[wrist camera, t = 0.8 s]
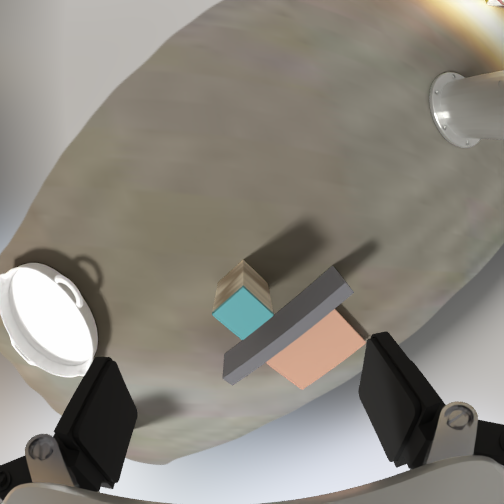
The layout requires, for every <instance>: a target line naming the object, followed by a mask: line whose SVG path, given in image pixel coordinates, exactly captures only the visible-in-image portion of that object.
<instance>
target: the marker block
mask: <svg viewBox="0 0 504 504" xmlns="http://www.w3.org/2000/svg"><path fill="white" fill-rule="evenodd" d="M212 315H213V316H214V317H215V318H216V319H217V320H219V321H220V322H221V323H222V324H223V325H225V326H226V327H227V328H228V329H229V330H231V331H232V332H233V333H234V334H235V335H237V336H238V337H239V338H240V339H241V340H244V339H245V338H246V337H248V336H249V335H250V334H251V333H253V332H254V331H255V330H256V329H258V328H259V327H260V326H261V325H263V324H264V323H265V322H266V321H268V320H269V319H270V318H271V317H273V316H274V314H273V308H272V303H271V297H270V292H269V287H268V283H267V282H266V281H265V280H264V279H263V278H262V277H261V276H260V275H259V274H258V273H257V272H256V271H255V270H254V269H253V268H251V267H250V266H249V265H248V264H247V263H246V262H245V261H244V260H242V261H241V262H240V263H239V264H238V265H237V266H236V267H234V268H233V269H232V270H231V271H230V272H229V273H228V274H227V275H226V276H225V277H224V278H222V279H221V280H220V281H219V282H218V285H217V290H216V295H215V301H214V306H213V312H212Z"/></svg>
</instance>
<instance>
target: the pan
mask: <svg viewBox="0 0 504 504" xmlns="http://www.w3.org/2000/svg"><path fill="white" fill-rule="evenodd" d="M0 313H1V317H2V320H3V323H4V325H5V327H6V329H7V331H8V334H9V335H10V338H11V343H12V346H13V347H14V348H15V349H16V351H17V352H18V353H19V354H20V355H21V356H22V357H23V358H24V359H25V360H26V361H27V362H28V363H29V364H30V365H35V366H38V367H40V368H41V369H43V370H45V371H47V372H49V373H51V374H54V375H57V376H62V377H76V376H85V374H86V372H87V370H88V369H89V367H90V365H91V363H92V361H93V357H94V355H95V353H96V350H97V344H98V334H97V327H96V324H95V320H94V318H93V315H92V313H91V310H90V308H89V307H88V305H87V303H86V301H85V300H84V298H83V297H82V295H81V294H80V291H79V290H78V289H77V287H76V286H75V284H74V283H73V282H71V281H70V280H69V279H68V278H66V277H64V276H63V275H62V274H60V273H59V272H57V271H56V270H55V269H53V268H51V267H48V266H46V265H43V264H40V263H27V264H24V265H21V266H19V267H16V268H12V269H11V270H9V271H8V272H7V273H3V274H1V275H0ZM18 348H19V349H20V350H19V349H18Z"/></svg>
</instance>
